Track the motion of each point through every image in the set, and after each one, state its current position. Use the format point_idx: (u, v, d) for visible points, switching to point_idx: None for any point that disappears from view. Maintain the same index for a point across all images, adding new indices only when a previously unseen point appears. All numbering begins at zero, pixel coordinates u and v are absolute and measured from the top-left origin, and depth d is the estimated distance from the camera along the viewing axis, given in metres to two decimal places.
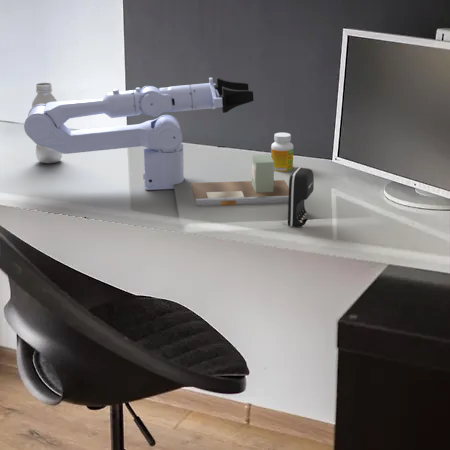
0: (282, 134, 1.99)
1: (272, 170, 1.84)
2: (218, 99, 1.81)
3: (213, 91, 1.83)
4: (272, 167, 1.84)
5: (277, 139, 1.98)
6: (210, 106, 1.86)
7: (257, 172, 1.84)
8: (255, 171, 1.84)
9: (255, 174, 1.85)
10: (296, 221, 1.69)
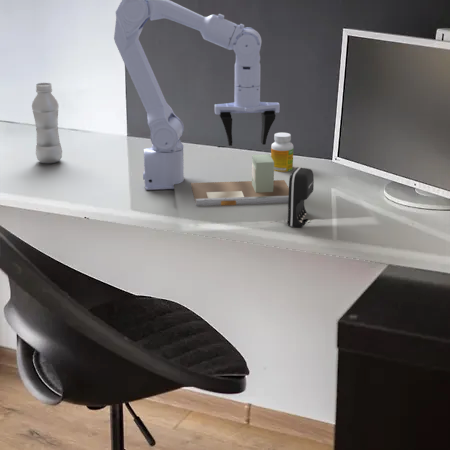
0: (282, 134, 1.99)
1: (272, 170, 1.84)
2: (215, 110, 1.84)
3: (231, 108, 1.83)
4: (272, 167, 1.84)
5: (277, 139, 1.98)
6: None
7: (257, 172, 1.84)
8: (255, 171, 1.84)
9: (255, 174, 1.85)
10: (296, 221, 1.69)
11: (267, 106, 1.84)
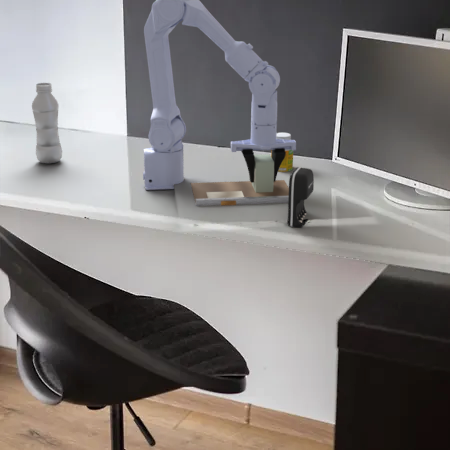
0: (282, 134, 1.99)
1: (272, 170, 1.84)
2: (231, 148, 1.83)
3: (247, 146, 1.83)
4: (272, 167, 1.84)
5: None
6: None
7: (257, 172, 1.84)
8: (255, 171, 1.84)
9: (255, 174, 1.85)
10: (296, 221, 1.69)
11: (283, 144, 1.84)
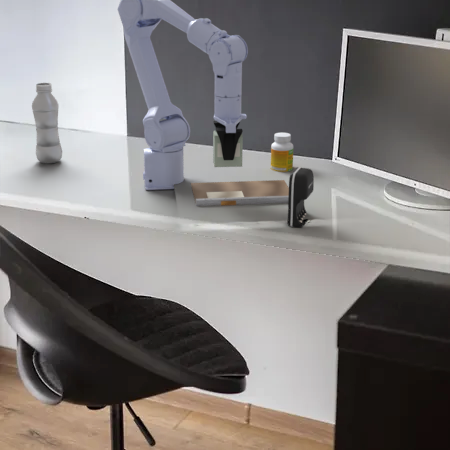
0: (282, 134, 1.99)
1: None
2: (234, 128, 1.70)
3: (238, 121, 1.73)
4: None
5: (277, 139, 1.98)
6: (219, 116, 1.74)
7: None
8: (239, 145, 1.77)
9: (239, 148, 1.77)
10: (296, 221, 1.69)
11: None
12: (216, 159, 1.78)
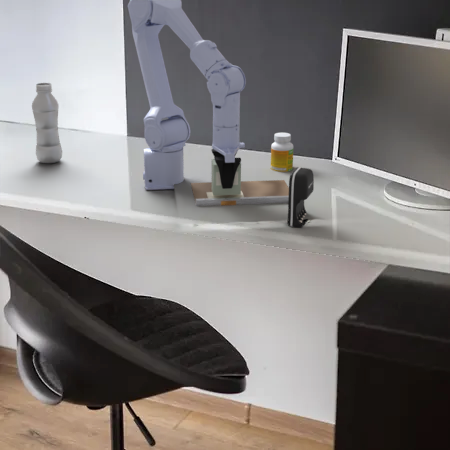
0: (282, 134, 1.99)
1: None
2: (233, 158, 1.72)
3: (236, 150, 1.75)
4: None
5: (277, 139, 1.98)
6: (218, 145, 1.76)
7: (240, 173, 1.80)
8: (237, 173, 1.79)
9: (238, 176, 1.79)
10: (296, 221, 1.69)
11: None
12: (215, 187, 1.80)
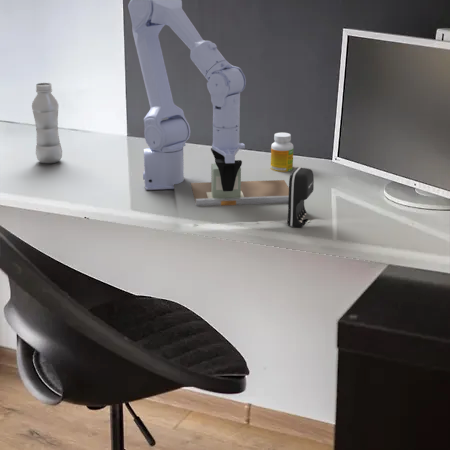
0: (282, 134, 1.99)
1: None
2: (233, 159, 1.72)
3: (236, 151, 1.75)
4: None
5: (277, 139, 1.98)
6: (218, 146, 1.76)
7: (240, 177, 1.80)
8: (237, 178, 1.80)
9: (238, 181, 1.80)
10: (296, 221, 1.69)
11: None
12: (215, 192, 1.80)
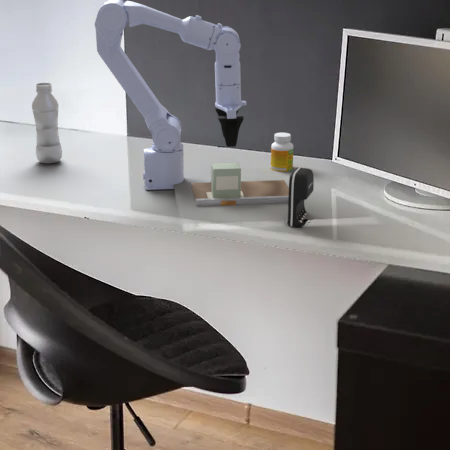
0: (282, 134, 1.99)
1: None
2: (235, 114, 1.81)
3: (238, 107, 1.84)
4: None
5: (277, 139, 1.98)
6: (220, 103, 1.85)
7: (240, 177, 1.80)
8: (237, 178, 1.80)
9: (238, 181, 1.80)
10: (296, 221, 1.69)
11: None
12: (215, 192, 1.80)
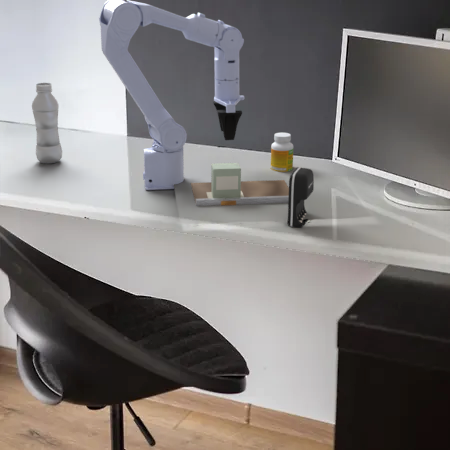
0: (282, 134, 1.99)
1: None
2: (234, 108, 1.86)
3: (237, 102, 1.89)
4: None
5: (277, 139, 1.98)
6: (219, 97, 1.90)
7: (240, 177, 1.80)
8: (237, 178, 1.80)
9: (238, 181, 1.80)
10: (296, 221, 1.69)
11: None
12: (215, 192, 1.80)
